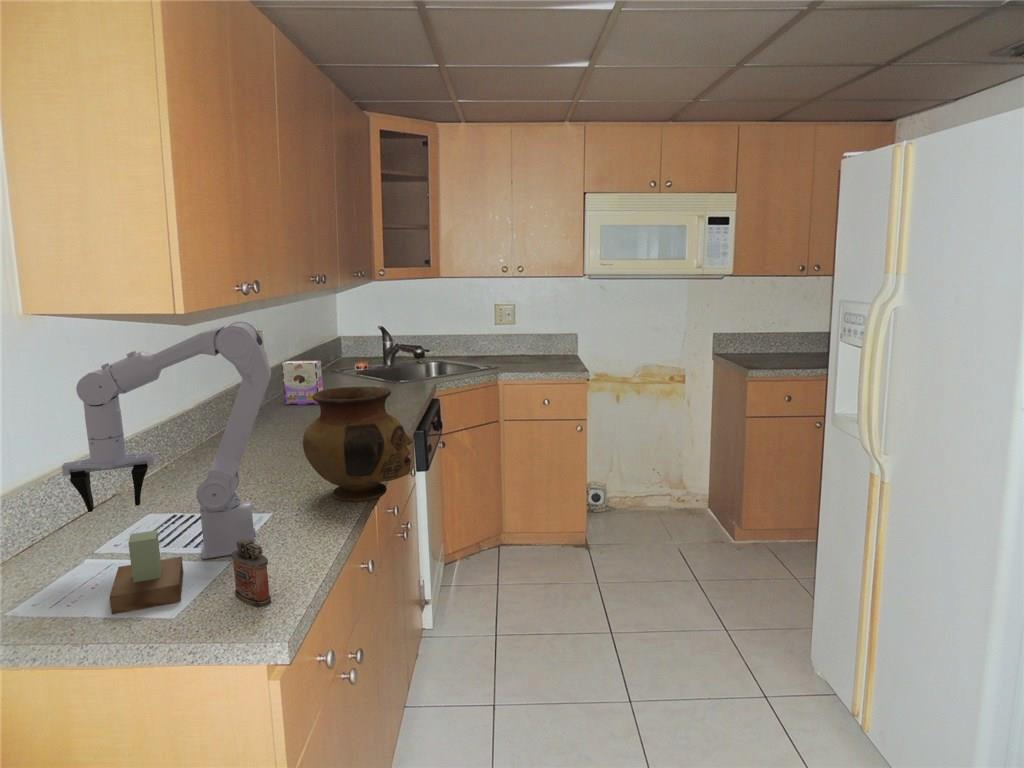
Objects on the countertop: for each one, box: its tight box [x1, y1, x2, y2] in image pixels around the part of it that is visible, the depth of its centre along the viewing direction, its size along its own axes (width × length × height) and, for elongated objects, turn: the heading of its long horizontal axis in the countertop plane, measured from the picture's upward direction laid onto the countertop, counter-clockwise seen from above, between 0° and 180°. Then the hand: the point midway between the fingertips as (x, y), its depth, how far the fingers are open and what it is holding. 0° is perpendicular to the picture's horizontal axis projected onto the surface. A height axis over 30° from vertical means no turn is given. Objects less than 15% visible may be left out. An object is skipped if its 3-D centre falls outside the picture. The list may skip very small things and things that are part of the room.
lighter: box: [230, 539, 272, 609], centre depth 116 cm, size 8×3×10 cm, turn 52°
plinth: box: [108, 556, 184, 615], centre depth 119 cm, size 10×12×3 cm
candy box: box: [281, 360, 324, 405], centre depth 272 cm, size 14×6×16 cm, turn 84°
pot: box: [302, 386, 414, 503], centre depth 166 cm, size 25×24×25 cm
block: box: [127, 529, 162, 583], centre depth 118 cm, size 4×4×7 cm
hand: (114, 507), depth 131 cm, fingers open, 7 cm apart
